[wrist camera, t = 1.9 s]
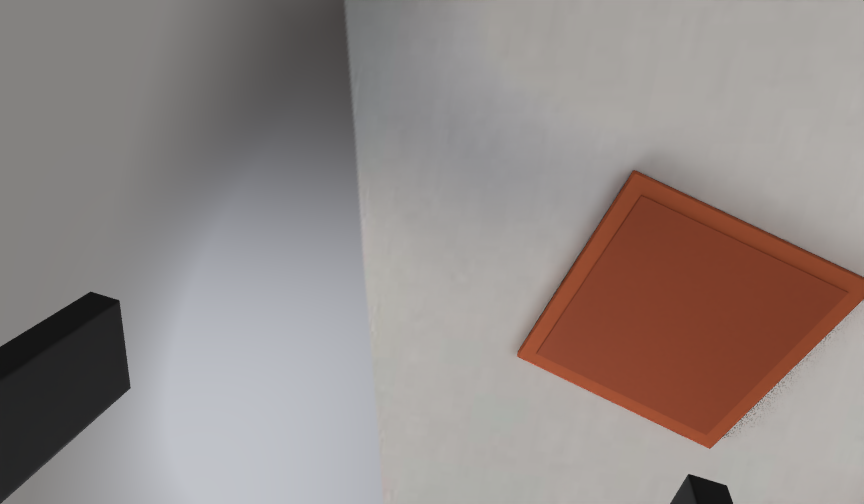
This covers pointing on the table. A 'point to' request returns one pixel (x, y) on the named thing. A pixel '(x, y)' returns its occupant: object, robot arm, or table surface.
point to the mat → (686, 311)
